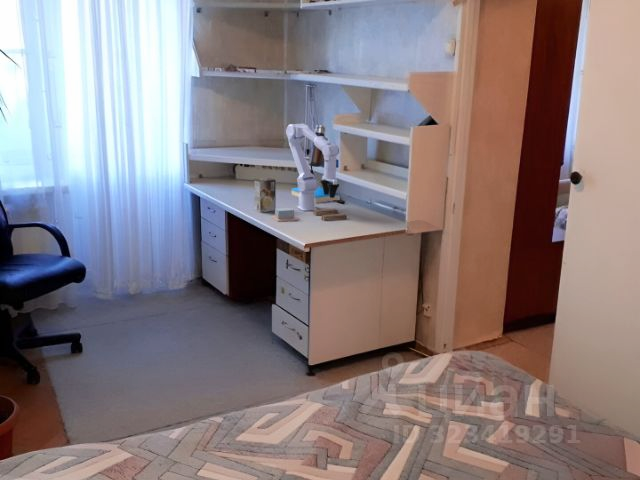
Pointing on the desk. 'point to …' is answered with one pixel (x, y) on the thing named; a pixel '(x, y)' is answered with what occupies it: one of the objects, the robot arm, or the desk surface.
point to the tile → (284, 219)
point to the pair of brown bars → (334, 215)
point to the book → (318, 195)
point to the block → (284, 213)
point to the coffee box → (265, 194)
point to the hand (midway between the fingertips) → (329, 196)
